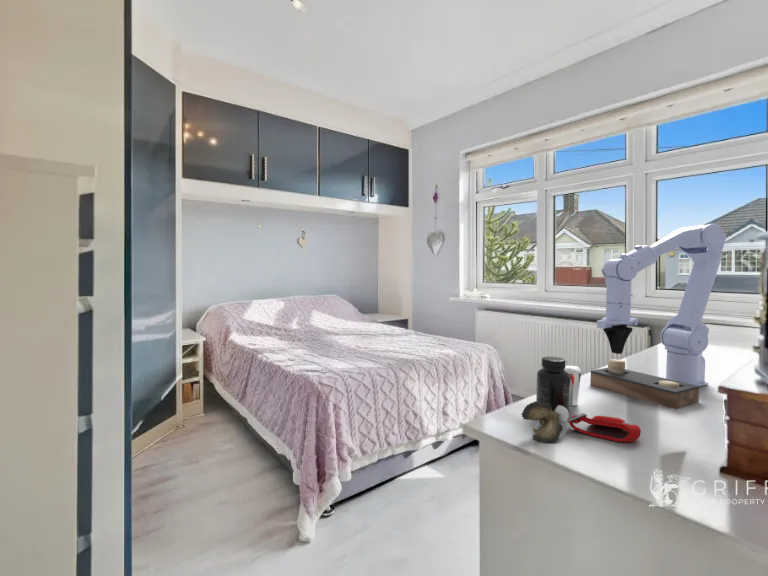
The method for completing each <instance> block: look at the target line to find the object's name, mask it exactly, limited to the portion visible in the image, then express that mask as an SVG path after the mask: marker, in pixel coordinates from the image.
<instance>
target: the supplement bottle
mask: <svg viewBox="0 0 768 576" xmlns="http://www.w3.org/2000/svg"><path fill="white" fill-rule="evenodd" d="M541 367H542V368H541V369H539V370H538V371H537V373H536V397H535V399H536V400H535V401H538V402H541V403H545V404H548V403H549V404H550V406H551V408H552V411H554V410H555V409H556V407H557V406H558V405H561V406H563V407H565V408H566V409H567V410H568V413H569V414H570V407H571V406H570V375H569V374H568V372H566V371H565V370H564V369H565V368H566V364H565V358H564V357H563V358H562V357H559V356H543V357H542V358H541Z"/></svg>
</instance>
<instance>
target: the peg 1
mask: <svg viewBox="0 0 768 576" xmlns="http://www.w3.org/2000/svg"><path fill="white" fill-rule="evenodd" d="M607 368H608V372H609V373H613V374H617V375H623V374H625V369H626V361H625V360H621V359H615V358H614V359H613V358H611V359H608V360H607Z"/></svg>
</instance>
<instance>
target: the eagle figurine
mask: <svg viewBox="0 0 768 576" xmlns="http://www.w3.org/2000/svg"><path fill="white" fill-rule="evenodd" d="M520 415H521V417H522V419H523V420H526V421H528V420H529V421H530V420H531V421H537V422H536V424H535V425H534V426H533V429H532V431H536V430H537V432H535V434H532V436H531V437H532V438H533V439H532V440H534V441H535V442H536V443H539V444H546V443H547V444H550V443H554V442H556V441H557V440H558V439H559V437H560V435H561V433H562V432H563V425H562V424H561V422H564V423H565V422H566V423H567V420H568V417H570V416H569V415H570V412H569V413H568V410H567V409H566V408H565V407H563V406H561V405H558V406H557V407H556V409H555V410H554V411H552V408H551V406H550V404H549V403H548V404H545V403H541V402H538V401H536V400H534V401H533V402H530V403H528V404H527V405H526V406H524V409H523V410H522V412H521V414H520ZM560 421H561V422H560Z"/></svg>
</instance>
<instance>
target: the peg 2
mask: <svg viewBox="0 0 768 576" xmlns="http://www.w3.org/2000/svg"><path fill="white" fill-rule="evenodd" d="M659 385H662V386H666V387H670V388H679V384H678V383H676V382H671V381H659Z"/></svg>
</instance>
